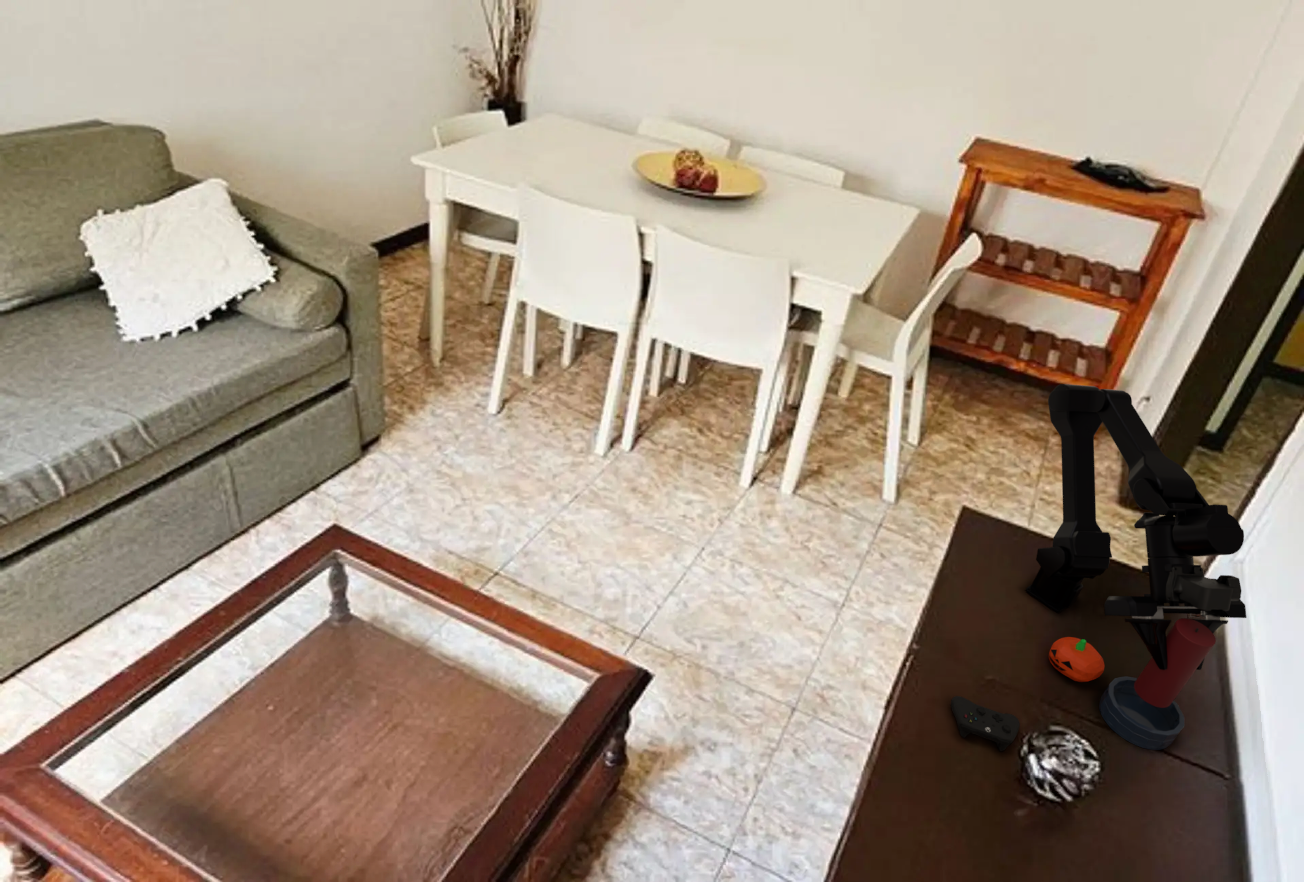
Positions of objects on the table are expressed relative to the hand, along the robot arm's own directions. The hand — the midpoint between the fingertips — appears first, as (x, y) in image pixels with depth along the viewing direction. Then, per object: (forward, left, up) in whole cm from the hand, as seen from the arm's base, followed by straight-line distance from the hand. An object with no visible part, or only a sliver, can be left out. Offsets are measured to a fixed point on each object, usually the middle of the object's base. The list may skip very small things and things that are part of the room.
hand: (1180, 669), depth 123 cm
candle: (-1, +1, -7) cm, 7 cm away
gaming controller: (-14, -22, -13) cm, 29 cm away
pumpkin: (-12, +1, -13) cm, 18 cm away
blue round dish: (-1, +1, -13) cm, 13 cm away
